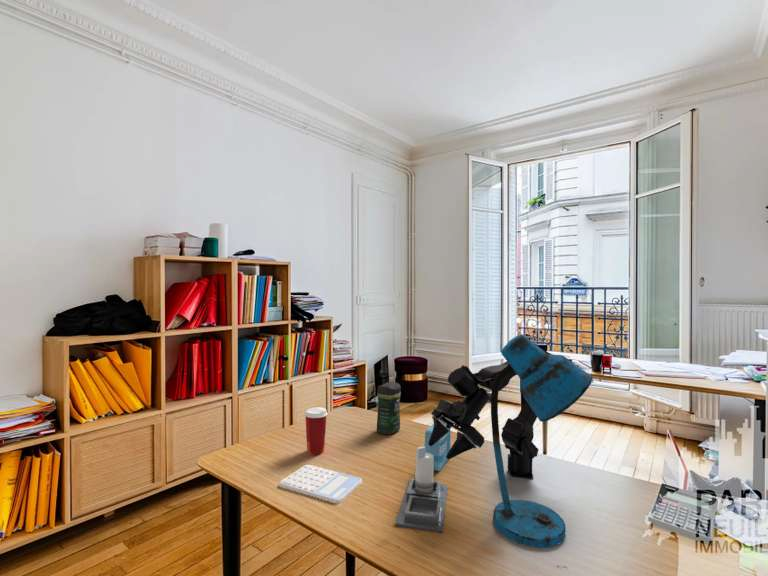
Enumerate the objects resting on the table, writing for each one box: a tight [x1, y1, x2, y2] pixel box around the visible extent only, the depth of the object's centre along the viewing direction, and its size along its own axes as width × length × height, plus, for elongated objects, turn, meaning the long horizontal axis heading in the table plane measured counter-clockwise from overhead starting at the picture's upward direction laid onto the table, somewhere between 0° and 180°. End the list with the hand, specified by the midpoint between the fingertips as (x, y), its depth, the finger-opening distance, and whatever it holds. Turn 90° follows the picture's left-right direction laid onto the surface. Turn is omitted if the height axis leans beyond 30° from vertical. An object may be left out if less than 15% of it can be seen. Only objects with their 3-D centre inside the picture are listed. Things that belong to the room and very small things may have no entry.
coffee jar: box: [376, 381, 402, 435], centre depth 153 cm, size 10×8×19 cm
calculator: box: [278, 464, 363, 505], centre depth 111 cm, size 13×20×2 cm, turn 64°
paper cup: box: [304, 406, 328, 456], centre depth 133 cm, size 8×8×14 cm
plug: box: [414, 445, 435, 495], centre depth 105 cm, size 5×5×12 cm
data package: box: [424, 423, 451, 472], centre depth 125 cm, size 12×4×12 cm, turn 153°
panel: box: [394, 477, 449, 533], centre depth 101 cm, size 11×21×2 cm, turn 167°
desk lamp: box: [490, 333, 594, 548], centre depth 92 cm, size 16×22×45 cm
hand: (438, 451), depth 107 cm, fingers open, 9 cm apart
